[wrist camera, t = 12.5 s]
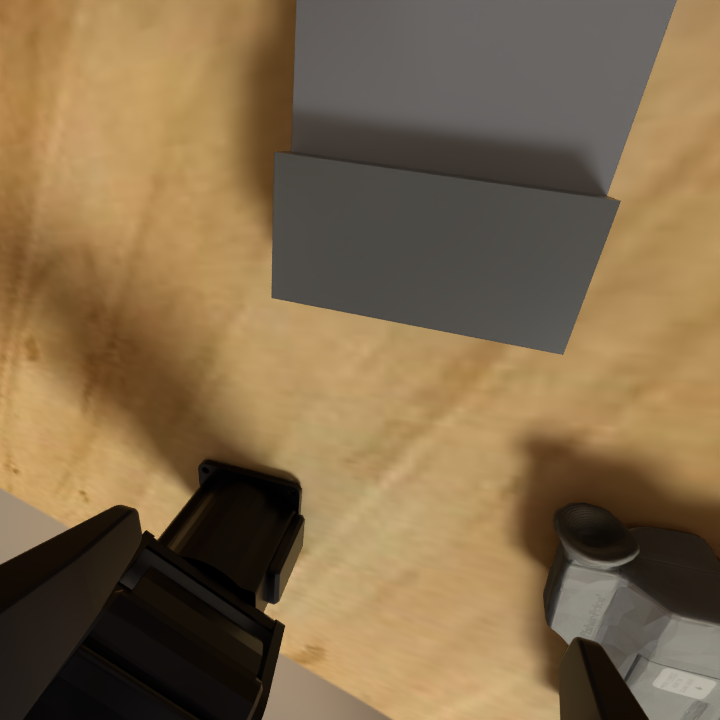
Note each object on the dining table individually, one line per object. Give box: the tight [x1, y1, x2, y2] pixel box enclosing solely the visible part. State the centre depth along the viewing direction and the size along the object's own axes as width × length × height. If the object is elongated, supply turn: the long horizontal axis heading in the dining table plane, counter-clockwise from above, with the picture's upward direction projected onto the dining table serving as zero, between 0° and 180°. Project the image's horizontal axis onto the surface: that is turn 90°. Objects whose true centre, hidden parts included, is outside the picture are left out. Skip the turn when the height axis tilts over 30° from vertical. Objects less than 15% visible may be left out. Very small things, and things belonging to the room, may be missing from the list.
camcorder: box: [543, 503, 720, 720], centre depth 22 cm, size 16×20×5 cm
